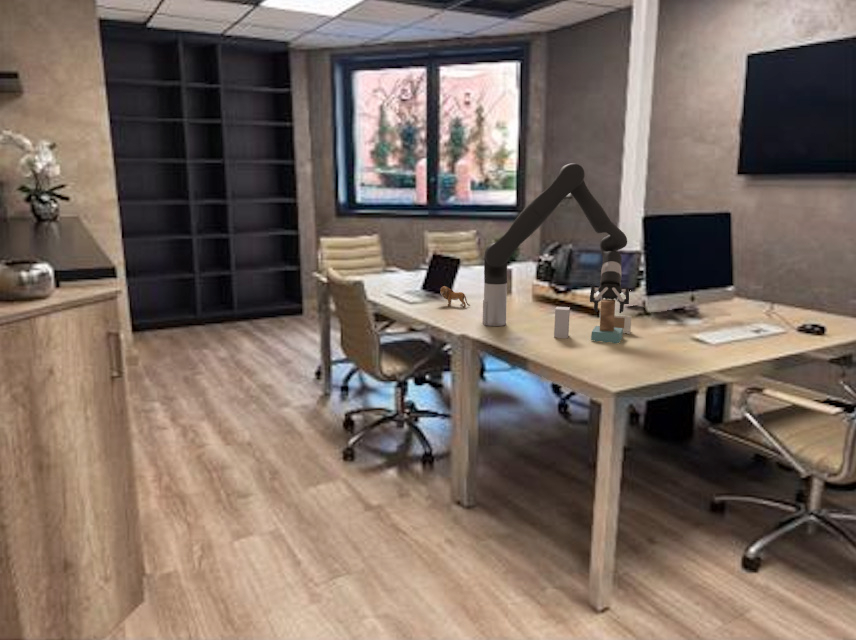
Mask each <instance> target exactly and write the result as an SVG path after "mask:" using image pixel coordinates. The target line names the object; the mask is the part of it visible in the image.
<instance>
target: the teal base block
mask: <svg viewBox="0 0 856 640" xmlns="http://www.w3.org/2000/svg"><path fill="white" fill-rule="evenodd" d="M623 334H624V333H623V328H614V331H600V325H595V326H594V328H593V329H592V330H591V337H590V341H591V340H595V341H594V342H597V341H603V342H602V343H607V342H612V343H611V344H617V343H619V342H621V341H622V339H623ZM620 340H621V341H620ZM619 344H620V343H619Z"/></svg>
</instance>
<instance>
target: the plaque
mask: <svg viewBox="0 0 856 640" xmlns="http://www.w3.org/2000/svg"><path fill="white" fill-rule="evenodd" d="M631 326H632V315H624V314H623V315H621V314H615V316H614V328H623V334H625V333H627V335H631V329H632V328H631Z"/></svg>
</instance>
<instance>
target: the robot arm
mask: <svg viewBox="0 0 856 640" xmlns="http://www.w3.org/2000/svg"><path fill="white" fill-rule="evenodd" d="M585 175H586V174H585V170H584V168H583V166H581V165H580V164H579V163H574V162H573V163H567V164H565V165H563V166H562V167H561V168H560V170H559V172H558V176H557V177H556V178H555V180H554V181H553V182H552V183H551V184H550V185H549V186H548V187H547V188H546V189H545V190H544V191H542V192H541V193H539V195H537V196H536V197H535V198H533V200H531V201H530V202H529V203H528V204H527V205H526V207H524V208H523V210H522V211H521V212H519V214H518V215H517V217H516V218H515V220H514V221H513V222H512V224H511V225H510V227H509V228H508V230H507V231H506V232H505V233H504V234H503V235H502V236H501V237H500V238H499V239H498V240H497V241H496V242H492V243H490V244H488V245H487V246H486V248H485V250H484V257H483V258H484V259H483V261H484V266H483V267H484V268H483V270H484V271H483V283H484V284H483V286H484V287H483V300H482V323H483V325H484V326H490V327H502V326H505V325H507V299H508V298H507V297H508V294H507V293H508V260H509V259H511V256H512V255H513V254H514V253H515V251H516V250H517V249H518V248H519V246H521V244H522V243H524V242H525V241H526V240H527V239H528V238H529V237H530V236H532V235H533V233H534V232H536V231H537V230H538V229H539V228H540V227H541V226H542V224H543V223H545V222H546V221H547V219H548V218H549V217H550V216H551V214H552V213H553V212H554V211H555V210H556V208H557V207H558V206H559V205H560V204H561V202H562V201H563V200H565V198H566V197H567V196H569V195H571V196H572V197H573V198H574V199H575V201H576V203H578V205H579V207H580V209H581V210H582V212H583V214H584V215H585V218H586V219H587V220H588V222H589V223H590V225H591V227H592V228H593V230H594V231H595V232H596V233H597V234H603V233H606V234H608V235H607V236H604V237H603V238H602V239H600V242H599V248H600V253H601V256H602V265H601V271H600V284H599V287H595V285H592V286H591V288H590V293H589V303H593V310H594V311H595V313H597V312H599V311H598V310H599V303H601V299H610V300H615V301H616V302H618V303H619V314H622V313H623V312H624V311H625V310H624V306H625V304H629V289H630V288H629V287H625V288H622V287H621V285H622V260H623V259H622V255H621V253H620V252H619V250H622V249H624V248H626V246H628V245H627V244H628V238H627V235H626V234H625V232H623V231H622V230H621V229H620V228H619V227H618V226H617V225H616V224H615V223H614V222H613V221H612V220H611V219H610V217H609V215H608V214H607V213H606V211H605V210H604V208H603V207H602V205H601V203H600V202H599V201H598V200H597V199H596V198H595V197H594V196H593V194H592V193H591V191H590V190H589V188H588V186H587V184H586V182H585V181H584V179H585ZM596 293H598V295H597V296H595V294H596ZM621 294H623V295H625V297H626V299H623V298H622V295H621Z"/></svg>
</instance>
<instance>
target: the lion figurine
mask: <svg viewBox="0 0 856 640" xmlns="http://www.w3.org/2000/svg"><path fill="white" fill-rule="evenodd" d="M439 293H440V295H441V297H443V298H444V299H445V300H447V303H448V304H447V305H448V306H447V307H450V306H451V305H452V300H453V301H458V300H459V301H460V302H461V304H459V305H460V306H461V307H462V308H466V306H468V307H469V306H470V307H471V304H469V303H468V300H467V296H466V294H465V293H464V292H461V291H460V292H459V291H458V292H457V291H456V292H455V291H454V290H453V289H451V288H449V287H448V286H445V285H444V286H441V287H440V292H439ZM450 304H451V305H450Z"/></svg>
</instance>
